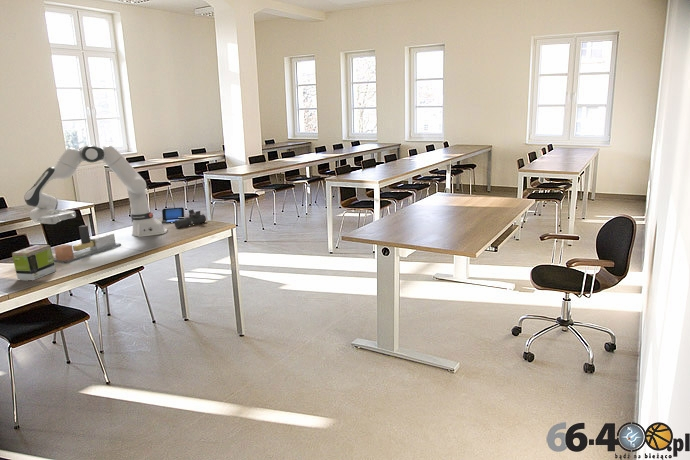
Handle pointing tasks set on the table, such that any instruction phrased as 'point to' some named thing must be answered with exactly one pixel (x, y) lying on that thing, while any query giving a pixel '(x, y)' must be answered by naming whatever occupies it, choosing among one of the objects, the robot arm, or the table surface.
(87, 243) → the hammer
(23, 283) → the table surface
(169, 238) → the table surface
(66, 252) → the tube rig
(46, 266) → the tea box
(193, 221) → the laser sight
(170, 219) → the handheld game console
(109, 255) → the table surface
